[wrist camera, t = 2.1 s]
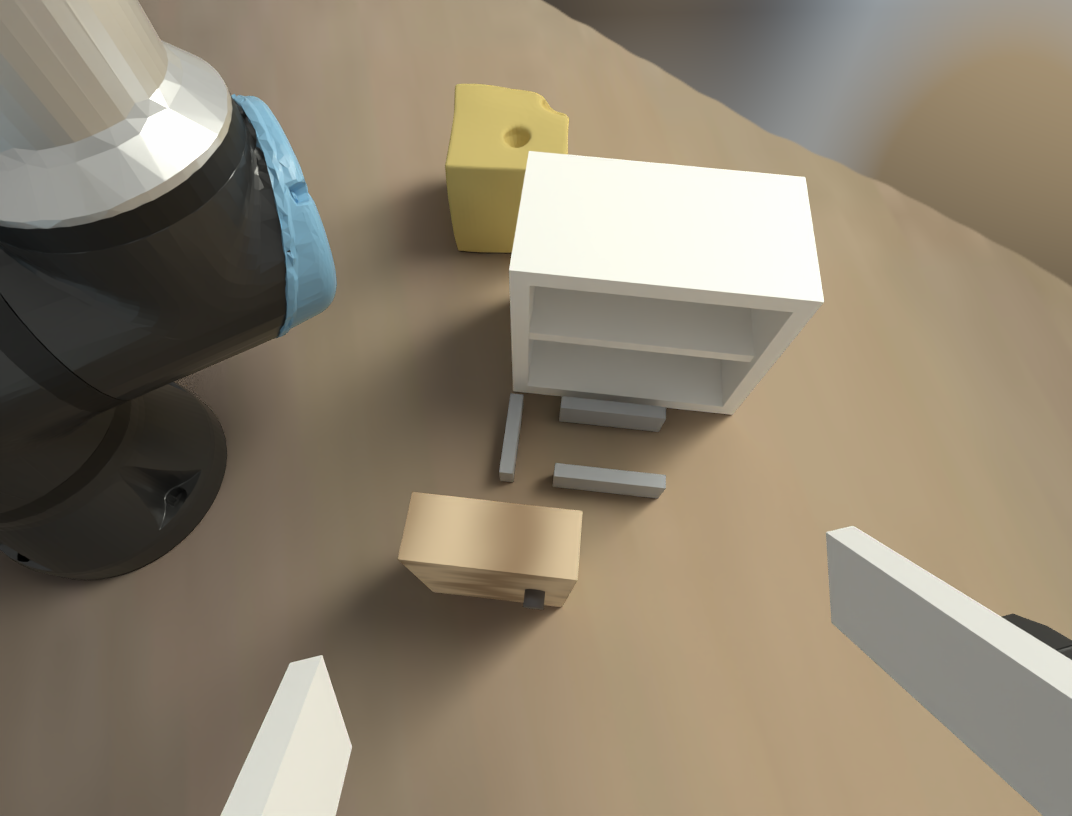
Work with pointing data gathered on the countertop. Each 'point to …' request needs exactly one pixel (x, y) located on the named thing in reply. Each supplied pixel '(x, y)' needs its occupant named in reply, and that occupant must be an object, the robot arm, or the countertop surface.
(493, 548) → the door
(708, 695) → the countertop surface
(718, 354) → the cabinet
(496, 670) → the countertop surface
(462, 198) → the cheese
